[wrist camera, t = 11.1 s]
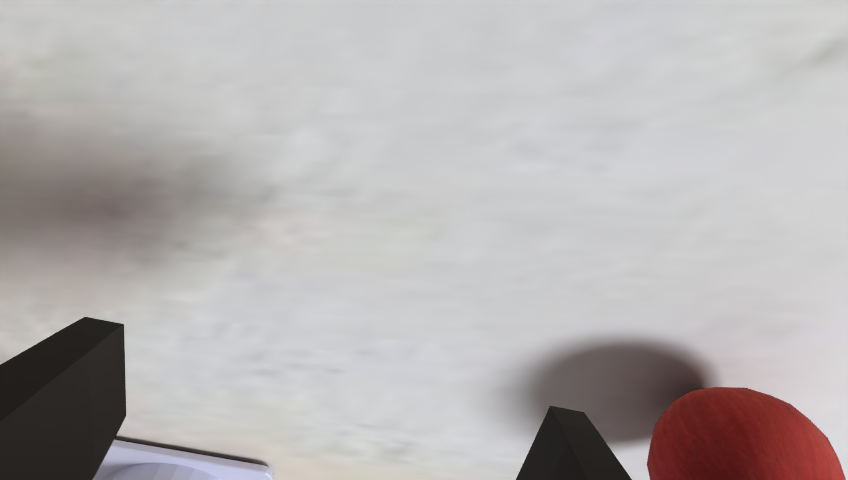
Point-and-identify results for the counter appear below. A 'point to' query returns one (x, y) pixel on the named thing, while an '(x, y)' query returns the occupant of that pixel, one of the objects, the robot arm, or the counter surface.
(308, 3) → the counter surface
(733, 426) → the onion
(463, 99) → the counter surface
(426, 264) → the counter surface
